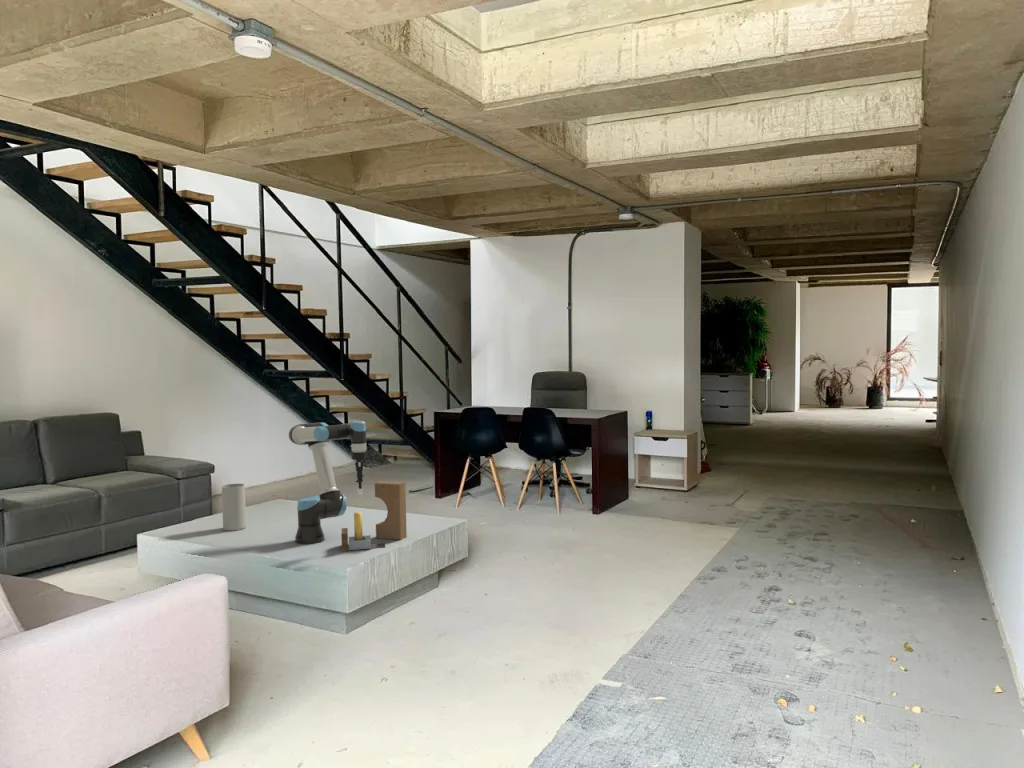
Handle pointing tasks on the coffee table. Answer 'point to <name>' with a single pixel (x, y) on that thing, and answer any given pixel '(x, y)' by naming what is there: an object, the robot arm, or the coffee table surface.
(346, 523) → the coffee table surface
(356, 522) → the dowel
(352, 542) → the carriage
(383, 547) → the dark grey flat board
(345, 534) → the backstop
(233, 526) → the cylinder vase
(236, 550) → the coffee table surface
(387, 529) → the decorative block
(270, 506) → the coffee table surface
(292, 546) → the coffee table surface
